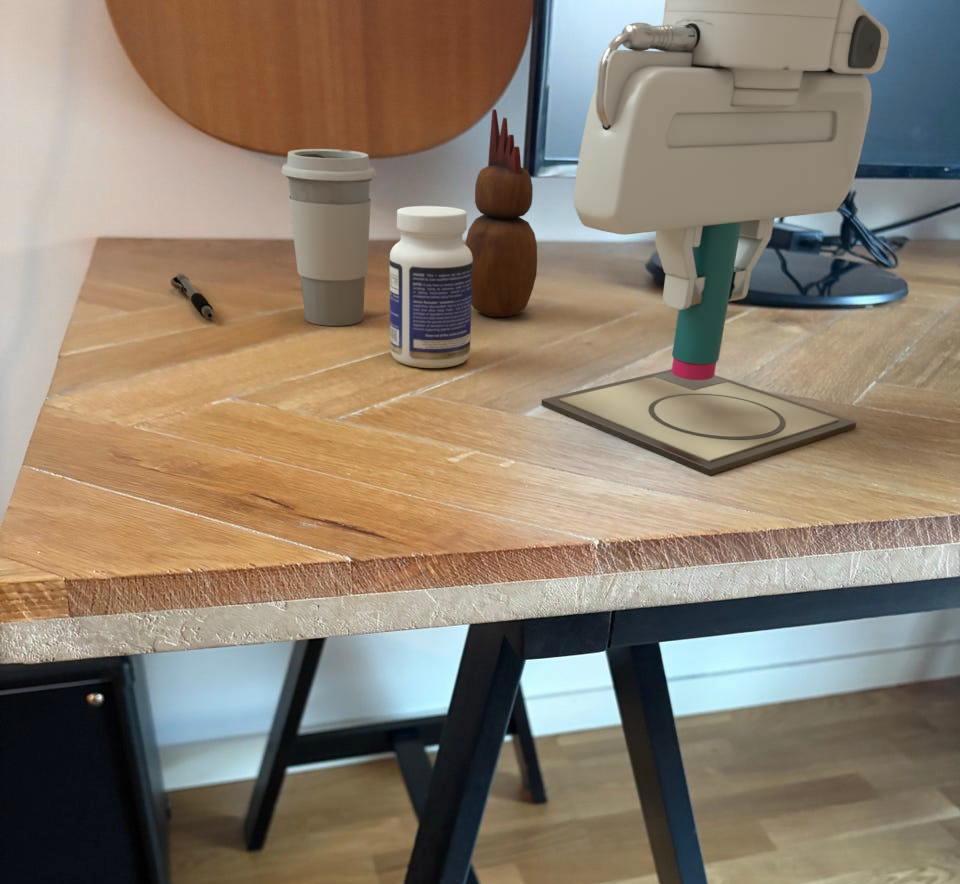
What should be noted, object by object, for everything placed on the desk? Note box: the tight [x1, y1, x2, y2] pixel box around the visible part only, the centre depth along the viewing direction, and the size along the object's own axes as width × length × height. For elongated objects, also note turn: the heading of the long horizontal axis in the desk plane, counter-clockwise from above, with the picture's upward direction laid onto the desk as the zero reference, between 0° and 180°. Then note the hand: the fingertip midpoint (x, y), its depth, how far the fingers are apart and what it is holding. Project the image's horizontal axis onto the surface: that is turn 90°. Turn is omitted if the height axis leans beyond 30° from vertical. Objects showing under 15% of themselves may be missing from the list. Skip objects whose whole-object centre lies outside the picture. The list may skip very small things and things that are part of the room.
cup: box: [281, 148, 377, 327], centre depth 77 cm, size 7×7×12 cm
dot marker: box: [671, 222, 742, 380], centre depth 58 cm, size 3×3×12 cm
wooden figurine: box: [464, 109, 538, 318], centre depth 80 cm, size 7×6×15 cm
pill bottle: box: [389, 205, 473, 369], centre depth 69 cm, size 6×6×10 cm
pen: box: [170, 273, 214, 319], centre depth 82 cm, size 14×2×1 cm, turn 24°
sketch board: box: [540, 368, 857, 476], centre depth 63 cm, size 14×14×1 cm
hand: (704, 302), depth 59 cm, fingers closed on dot marker, 3 cm apart
